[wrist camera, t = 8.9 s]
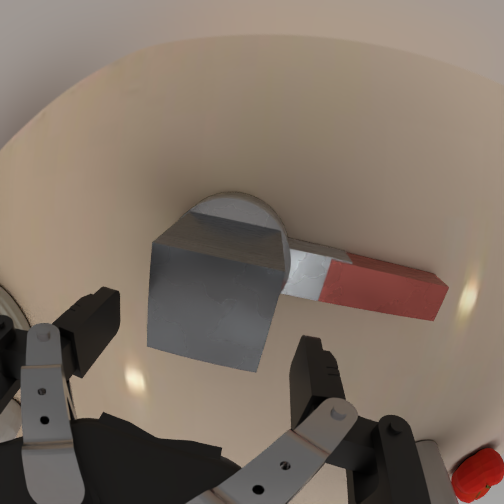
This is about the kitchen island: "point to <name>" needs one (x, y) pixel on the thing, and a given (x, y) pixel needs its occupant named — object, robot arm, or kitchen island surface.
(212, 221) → the brushed metal cube
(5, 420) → the soap bottle
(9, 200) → the kitchen island surface
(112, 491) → the robot arm
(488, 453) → the tomato
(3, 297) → the jar
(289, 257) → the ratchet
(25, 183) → the kitchen island surface
